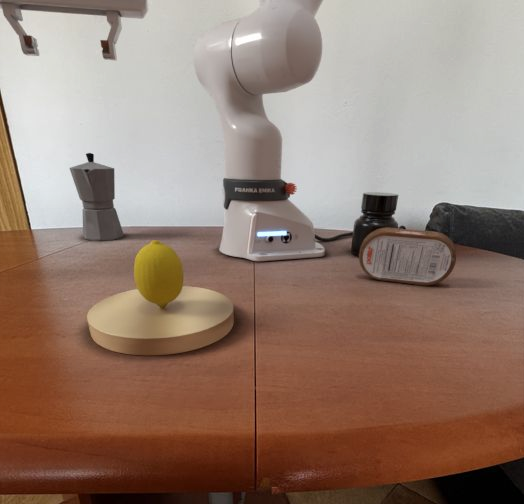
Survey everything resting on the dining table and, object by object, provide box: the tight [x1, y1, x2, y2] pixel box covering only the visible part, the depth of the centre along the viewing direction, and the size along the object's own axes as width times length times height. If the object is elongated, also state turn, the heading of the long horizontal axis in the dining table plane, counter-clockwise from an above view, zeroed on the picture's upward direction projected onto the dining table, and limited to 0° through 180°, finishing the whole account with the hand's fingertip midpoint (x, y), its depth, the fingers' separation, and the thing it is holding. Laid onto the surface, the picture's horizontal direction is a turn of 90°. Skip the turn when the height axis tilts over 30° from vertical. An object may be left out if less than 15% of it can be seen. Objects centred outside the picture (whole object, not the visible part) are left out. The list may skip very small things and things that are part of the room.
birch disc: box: [86, 285, 235, 357], centre depth 46 cm, size 17×17×2 cm
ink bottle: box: [350, 191, 399, 257], centre depth 78 cm, size 10×9×12 cm
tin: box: [358, 227, 457, 286], centre depth 61 cm, size 15×3×8 cm, turn 71°
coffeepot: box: [69, 152, 125, 242], centre depth 88 cm, size 15×9×18 cm, turn 12°
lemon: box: [133, 239, 185, 308], centre depth 44 cm, size 6×6×8 cm
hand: (71, 57), depth 48 cm, fingers open, 8 cm apart
